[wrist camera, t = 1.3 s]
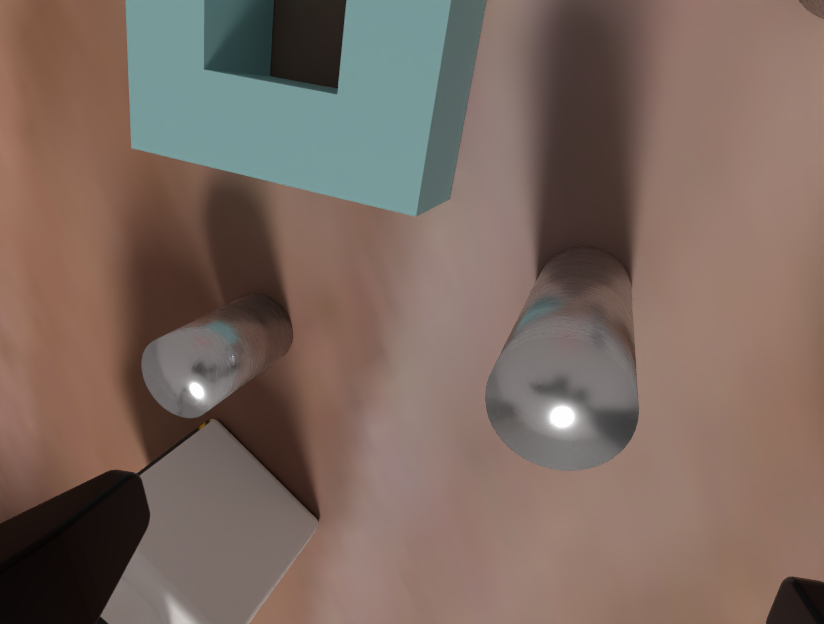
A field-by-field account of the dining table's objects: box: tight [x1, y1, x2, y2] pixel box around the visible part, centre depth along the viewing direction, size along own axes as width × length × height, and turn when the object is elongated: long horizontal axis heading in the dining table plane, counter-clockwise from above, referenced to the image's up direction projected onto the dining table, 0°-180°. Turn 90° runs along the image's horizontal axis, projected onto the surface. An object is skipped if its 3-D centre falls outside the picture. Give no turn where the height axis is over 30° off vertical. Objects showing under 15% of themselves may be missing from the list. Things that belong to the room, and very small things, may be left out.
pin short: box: [141, 293, 293, 418], centre depth 21 cm, size 3×3×5 cm
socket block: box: [126, 0, 486, 216], centre depth 17 cm, size 10×10×4 cm
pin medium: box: [485, 247, 639, 471], centre depth 15 cm, size 3×3×8 cm
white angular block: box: [96, 419, 319, 624], centre depth 22 cm, size 7×7×12 cm
